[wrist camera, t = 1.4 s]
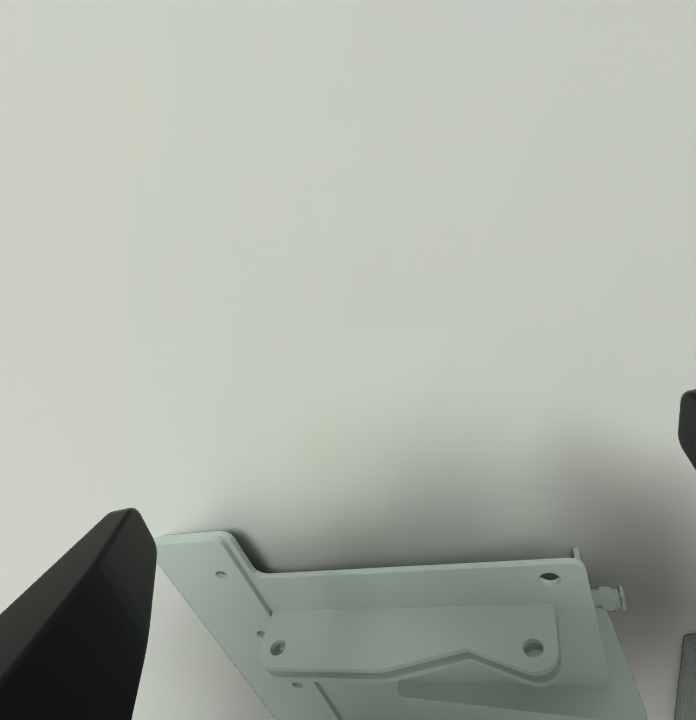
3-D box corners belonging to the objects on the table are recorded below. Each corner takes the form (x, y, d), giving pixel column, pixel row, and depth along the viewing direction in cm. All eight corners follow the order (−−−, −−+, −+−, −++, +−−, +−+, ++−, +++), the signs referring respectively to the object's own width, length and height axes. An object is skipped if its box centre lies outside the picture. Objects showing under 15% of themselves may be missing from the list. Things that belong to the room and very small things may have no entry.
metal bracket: (628, 571, 11) (680, 876, 18) (586, 394, 16) (640, 689, 23) (79, 595, 16) (285, 825, 23) (173, 456, 21) (320, 681, 28)
